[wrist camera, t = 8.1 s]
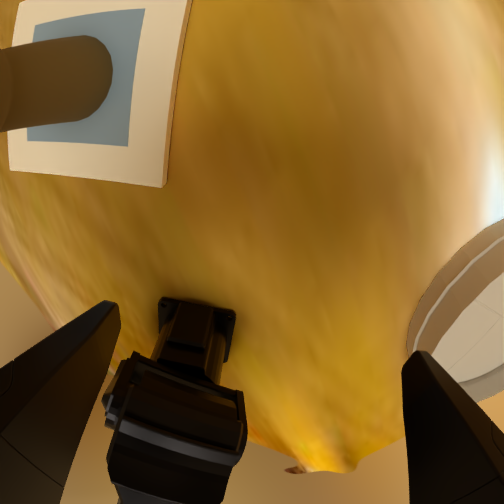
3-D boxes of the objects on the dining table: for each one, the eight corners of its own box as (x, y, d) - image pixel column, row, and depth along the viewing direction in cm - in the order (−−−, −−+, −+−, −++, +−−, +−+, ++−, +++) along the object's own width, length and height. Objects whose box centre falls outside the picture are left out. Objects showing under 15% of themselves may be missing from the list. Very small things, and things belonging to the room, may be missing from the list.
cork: (31, 100, 15) (-93, 145, 6) (66, 23, 13) (-68, 23, 3) (87, 137, 17) (-41, 206, 8) (130, 55, 14) (-11, 56, 5)
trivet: (166, 183, 20) (161, 188, 19) (17, 166, 19) (9, 170, 18) (197, -23, 12) (193, -28, 11) (27, 3, 12) (19, 2, 11)
